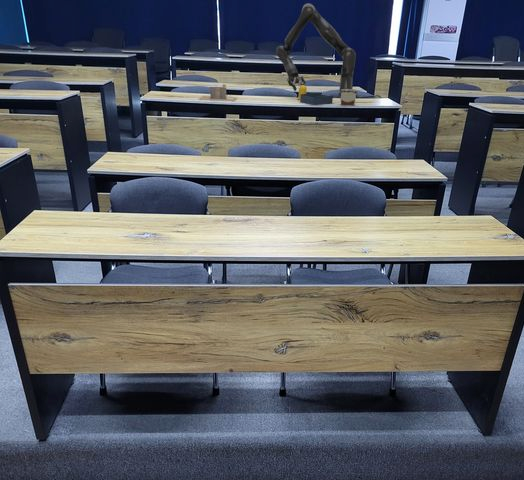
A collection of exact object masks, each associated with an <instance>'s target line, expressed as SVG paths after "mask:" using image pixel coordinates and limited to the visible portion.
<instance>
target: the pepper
mask: <svg viewBox="0 0 524 480" xmlns="http://www.w3.org/2000/svg"><path fill="white" fill-rule="evenodd" d="M301 84H302V83H301ZM300 94H307V86H306V84H302V85H300V86H299V87H298V98H297V99H298V100H299V101H300V97H301V95H300Z"/></svg>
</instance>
